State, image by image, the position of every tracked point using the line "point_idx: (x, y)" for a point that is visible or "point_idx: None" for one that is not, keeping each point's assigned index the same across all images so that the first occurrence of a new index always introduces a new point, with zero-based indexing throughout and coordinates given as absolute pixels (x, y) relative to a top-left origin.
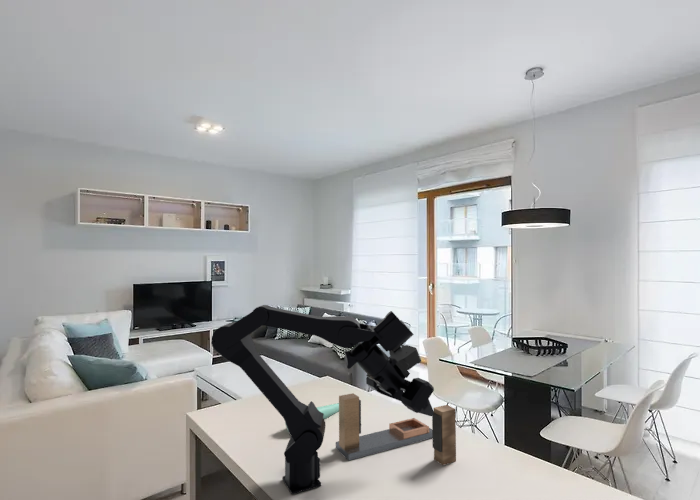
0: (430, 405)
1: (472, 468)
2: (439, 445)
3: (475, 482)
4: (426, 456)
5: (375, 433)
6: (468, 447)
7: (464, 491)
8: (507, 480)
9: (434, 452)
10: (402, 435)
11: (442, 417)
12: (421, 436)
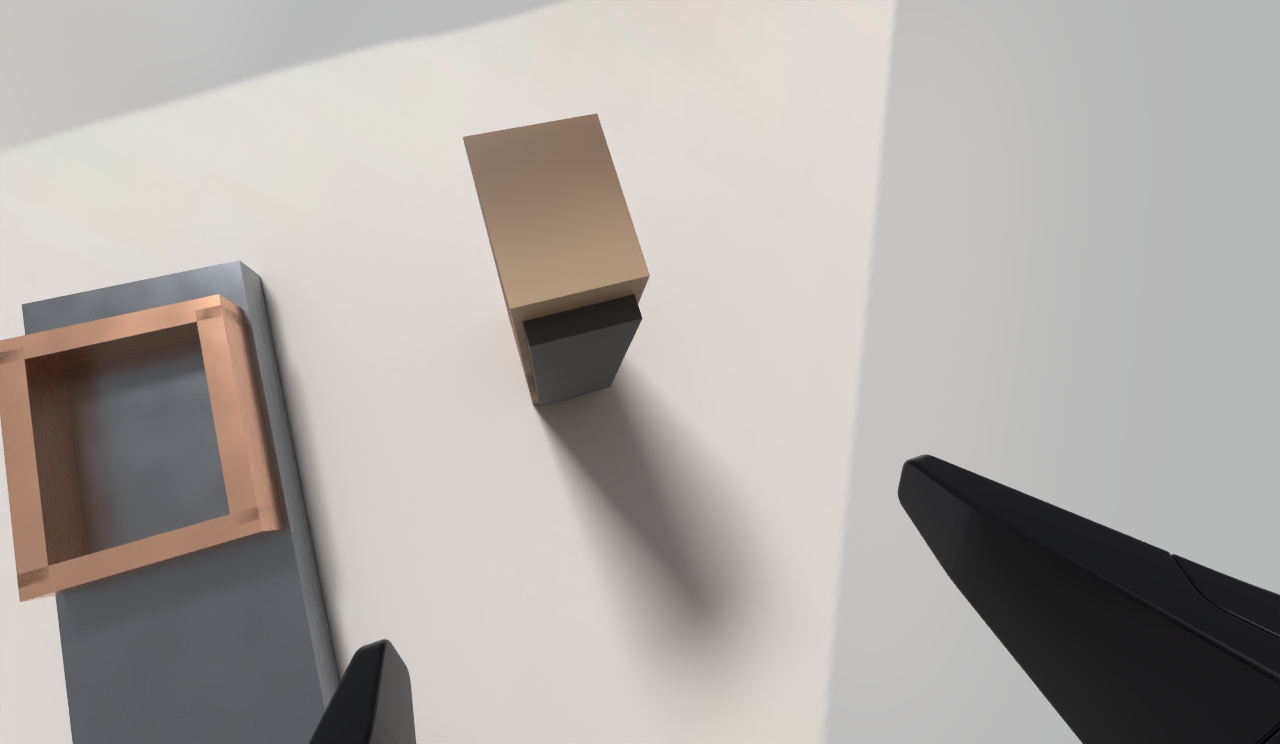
0: (1102, 534)
1: (661, 256)
2: (608, 379)
3: (776, 306)
4: (487, 434)
5: (95, 740)
6: (451, 161)
7: (835, 390)
8: (780, 168)
9: (534, 396)
10: (254, 534)
11: (639, 292)
12: (266, 379)
